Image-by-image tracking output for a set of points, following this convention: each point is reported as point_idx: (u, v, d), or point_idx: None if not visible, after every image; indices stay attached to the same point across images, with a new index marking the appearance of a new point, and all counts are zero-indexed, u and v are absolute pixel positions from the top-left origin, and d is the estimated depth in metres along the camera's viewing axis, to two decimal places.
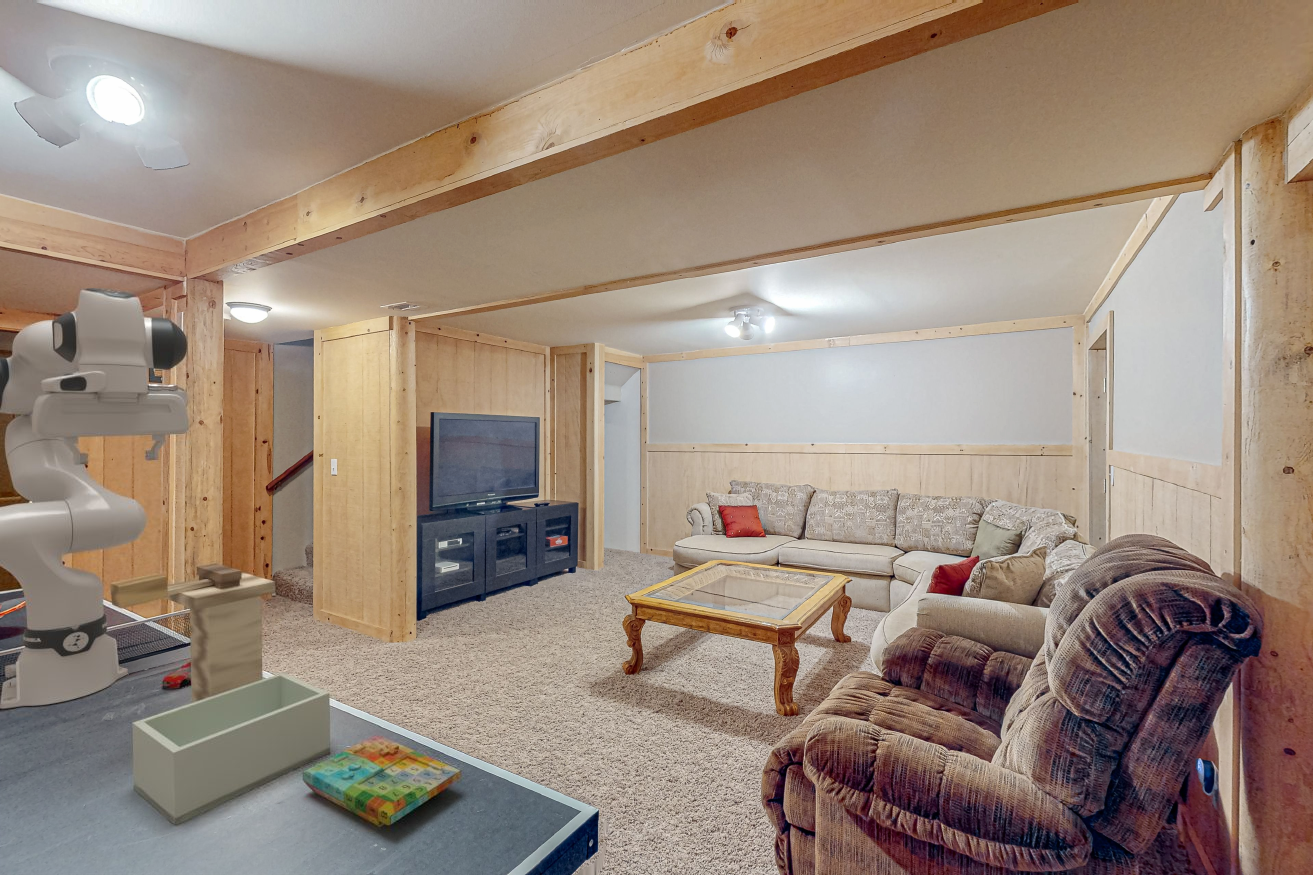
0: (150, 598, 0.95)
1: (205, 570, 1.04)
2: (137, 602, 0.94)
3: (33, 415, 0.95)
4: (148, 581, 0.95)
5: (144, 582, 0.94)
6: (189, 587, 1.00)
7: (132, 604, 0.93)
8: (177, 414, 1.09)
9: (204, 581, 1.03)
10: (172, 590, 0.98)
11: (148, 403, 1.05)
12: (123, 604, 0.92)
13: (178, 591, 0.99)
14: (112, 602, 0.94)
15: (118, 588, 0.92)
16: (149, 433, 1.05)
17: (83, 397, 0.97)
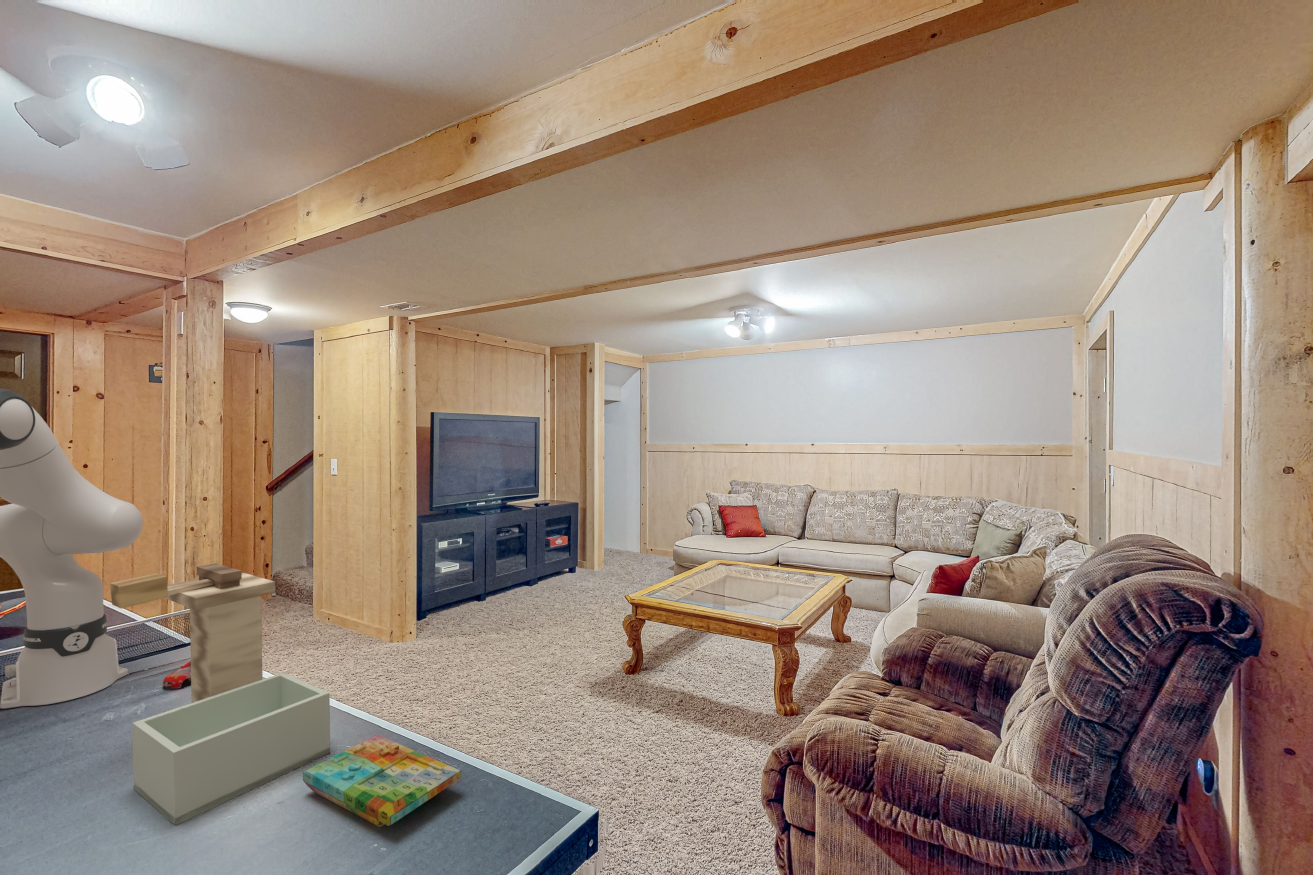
0: (150, 598, 0.95)
1: (205, 570, 1.04)
2: (137, 602, 0.94)
3: None
4: (148, 581, 0.95)
5: (144, 582, 0.94)
6: (189, 587, 1.00)
7: (132, 604, 0.93)
8: None
9: (204, 581, 1.03)
10: (172, 590, 0.98)
11: None
12: (123, 604, 0.92)
13: (178, 591, 0.99)
14: (112, 602, 0.94)
15: (118, 588, 0.92)
16: None
17: None
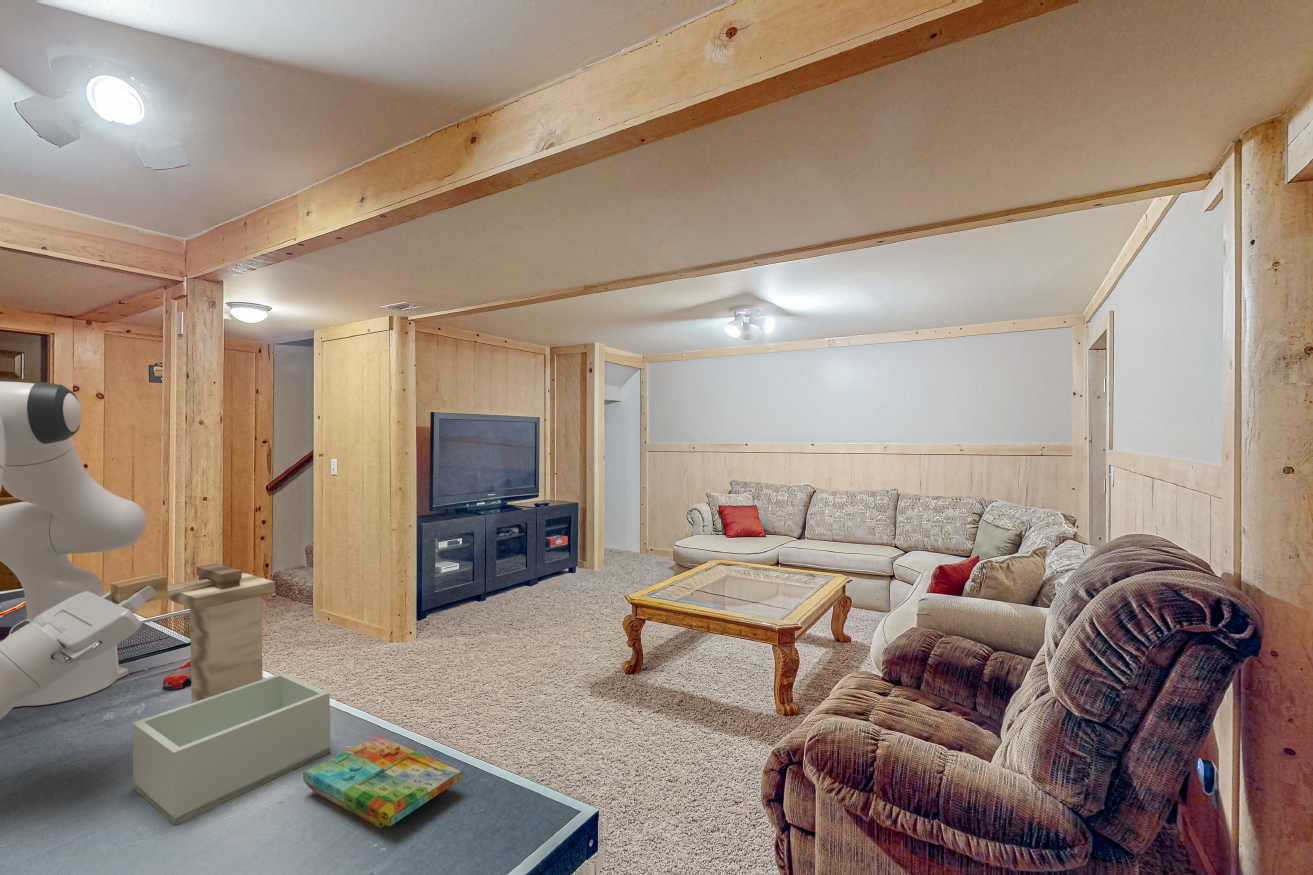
0: (150, 598, 0.95)
1: (205, 570, 1.04)
2: None
3: None
4: (148, 581, 0.95)
5: (144, 582, 0.95)
6: (189, 587, 1.00)
7: None
8: None
9: (204, 581, 1.03)
10: (172, 590, 0.98)
11: None
12: None
13: (178, 591, 0.99)
14: None
15: (118, 588, 0.92)
16: None
17: None
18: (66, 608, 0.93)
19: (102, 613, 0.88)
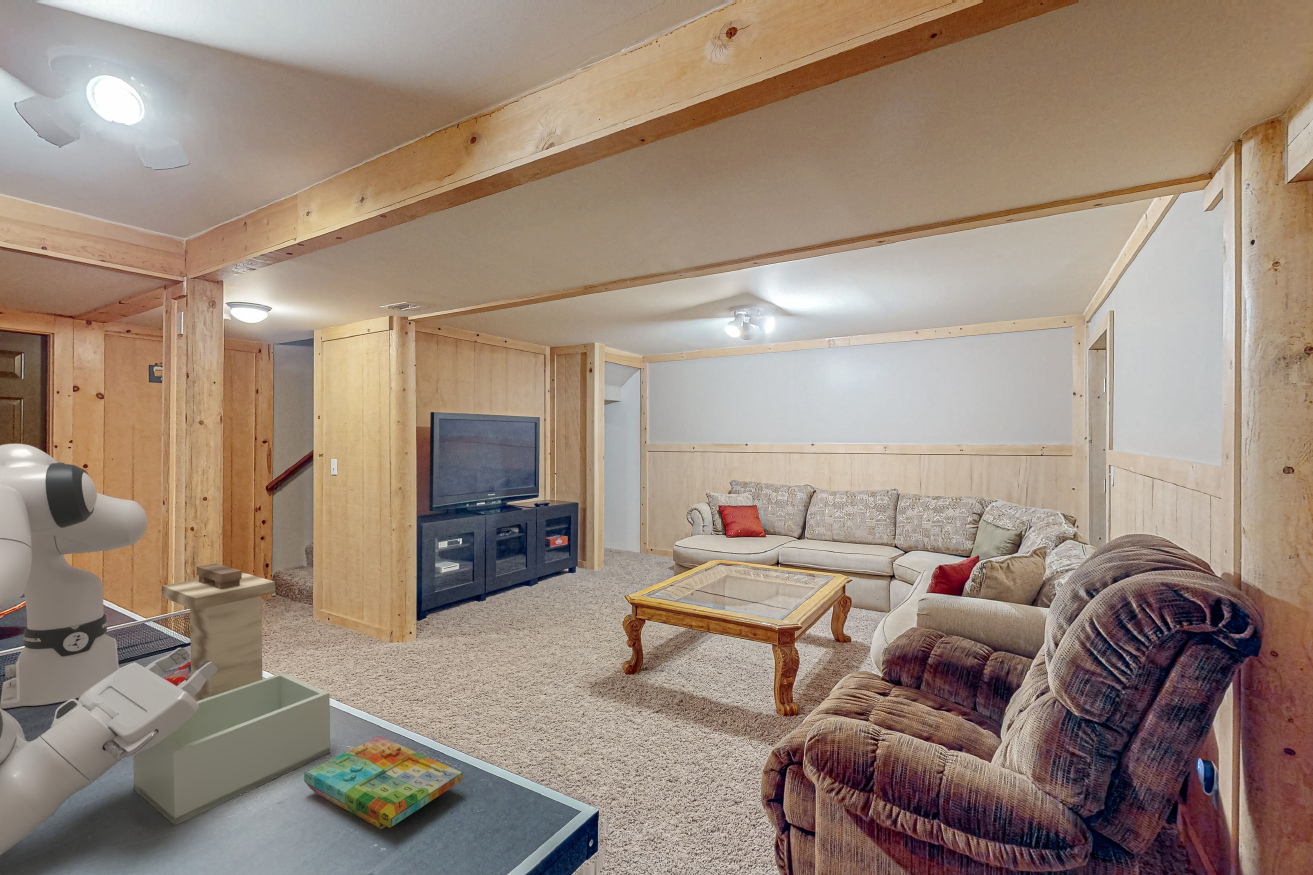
0: None
1: (205, 570, 1.04)
2: None
3: None
4: None
5: None
6: None
7: None
8: None
9: None
10: None
11: None
12: None
13: None
14: None
15: None
16: None
17: None
18: (114, 684, 0.85)
19: (156, 695, 0.80)
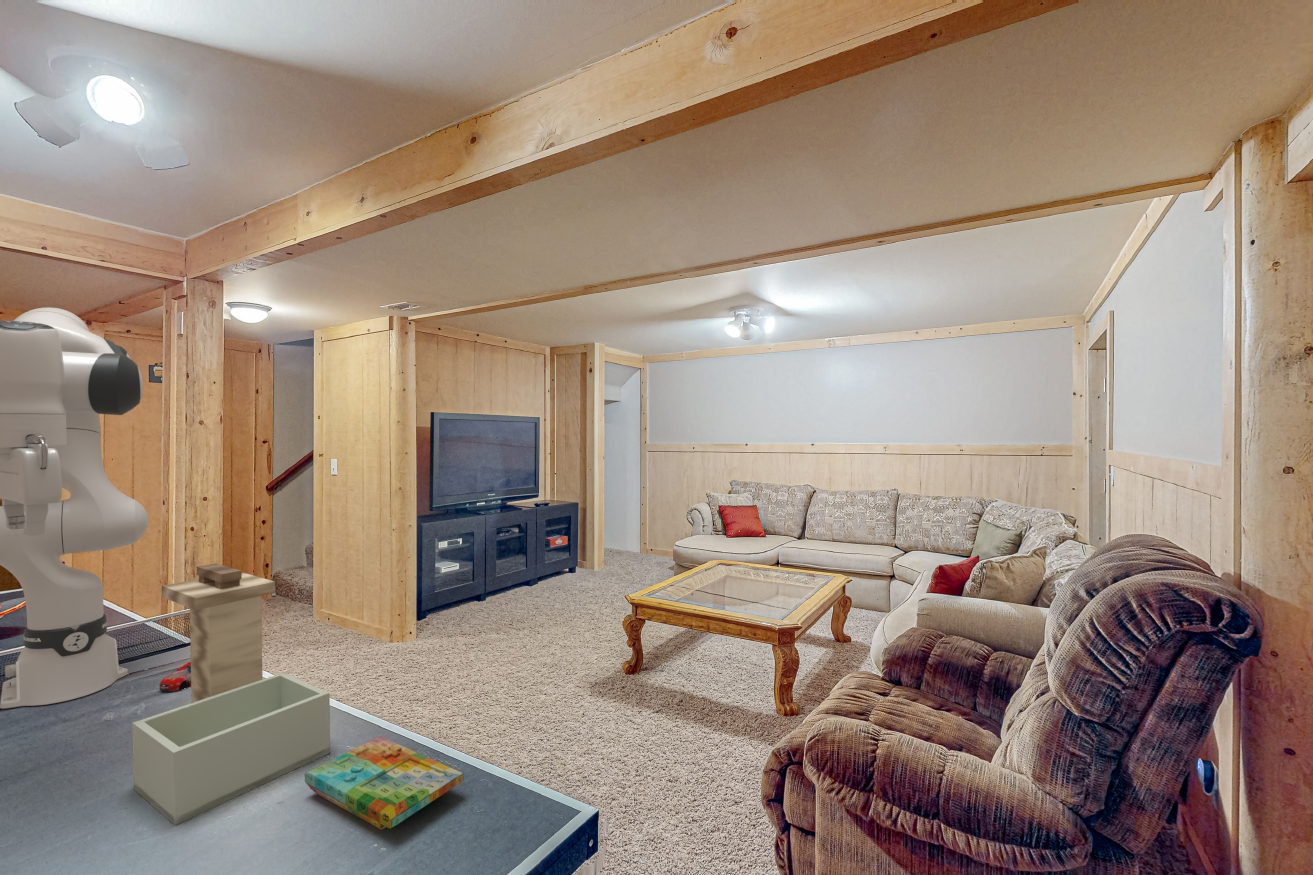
0: None
1: (205, 570, 1.04)
2: None
3: None
4: None
5: None
6: None
7: None
8: (21, 477, 0.78)
9: None
10: None
11: None
12: None
13: None
14: None
15: None
16: (14, 500, 0.80)
17: None
18: None
19: None
